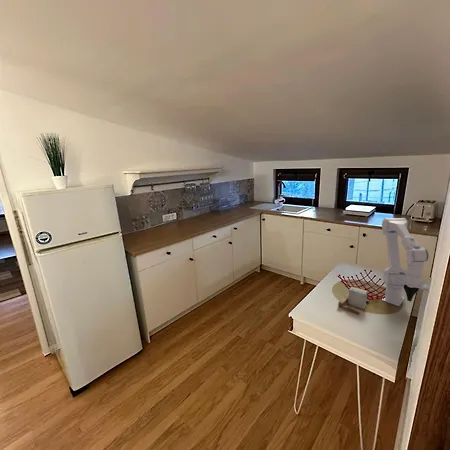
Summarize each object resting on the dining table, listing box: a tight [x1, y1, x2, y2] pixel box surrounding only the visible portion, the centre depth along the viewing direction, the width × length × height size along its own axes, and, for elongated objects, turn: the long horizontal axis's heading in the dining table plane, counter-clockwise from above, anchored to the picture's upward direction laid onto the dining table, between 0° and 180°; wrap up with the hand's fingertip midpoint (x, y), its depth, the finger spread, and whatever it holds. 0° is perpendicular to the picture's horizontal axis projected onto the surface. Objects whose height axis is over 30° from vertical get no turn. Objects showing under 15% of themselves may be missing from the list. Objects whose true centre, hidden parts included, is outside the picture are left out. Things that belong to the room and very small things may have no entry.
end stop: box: [337, 291, 370, 316], centre depth 133 cm, size 14×10×3 cm
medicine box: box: [347, 286, 368, 310], centre depth 132 cm, size 8×4×9 cm, turn 49°
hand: (409, 300), depth 117 cm, fingers closed
